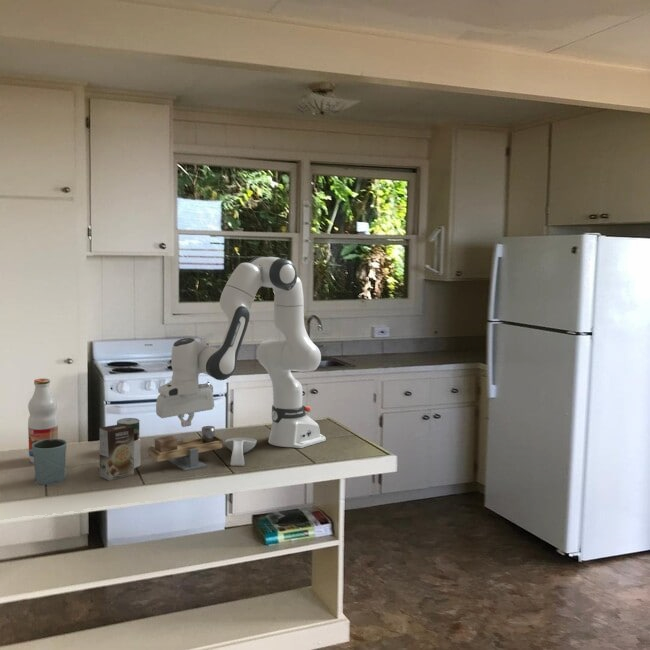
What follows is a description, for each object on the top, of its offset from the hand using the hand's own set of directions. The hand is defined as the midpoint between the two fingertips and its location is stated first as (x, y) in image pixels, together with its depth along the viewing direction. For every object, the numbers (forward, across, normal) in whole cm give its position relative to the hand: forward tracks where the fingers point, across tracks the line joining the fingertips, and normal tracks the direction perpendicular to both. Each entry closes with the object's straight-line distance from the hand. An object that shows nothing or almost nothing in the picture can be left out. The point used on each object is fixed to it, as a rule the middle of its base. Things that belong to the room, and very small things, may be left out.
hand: (186, 426), depth 242 cm
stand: (+13, 0, 0) cm, 13 cm away
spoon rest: (+14, -19, +2) cm, 24 cm away
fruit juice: (+12, +40, -28) cm, 50 cm away
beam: (+8, 0, 0) cm, 8 cm away
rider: (+7, +8, 0) cm, 10 cm away
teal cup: (+12, +44, -7) cm, 46 cm away
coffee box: (+12, +24, 0) cm, 28 cm away
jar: (+13, +19, -7) cm, 24 cm away
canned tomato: (+13, +12, -24) cm, 29 cm away
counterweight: (+7, -8, 0) cm, 11 cm away
